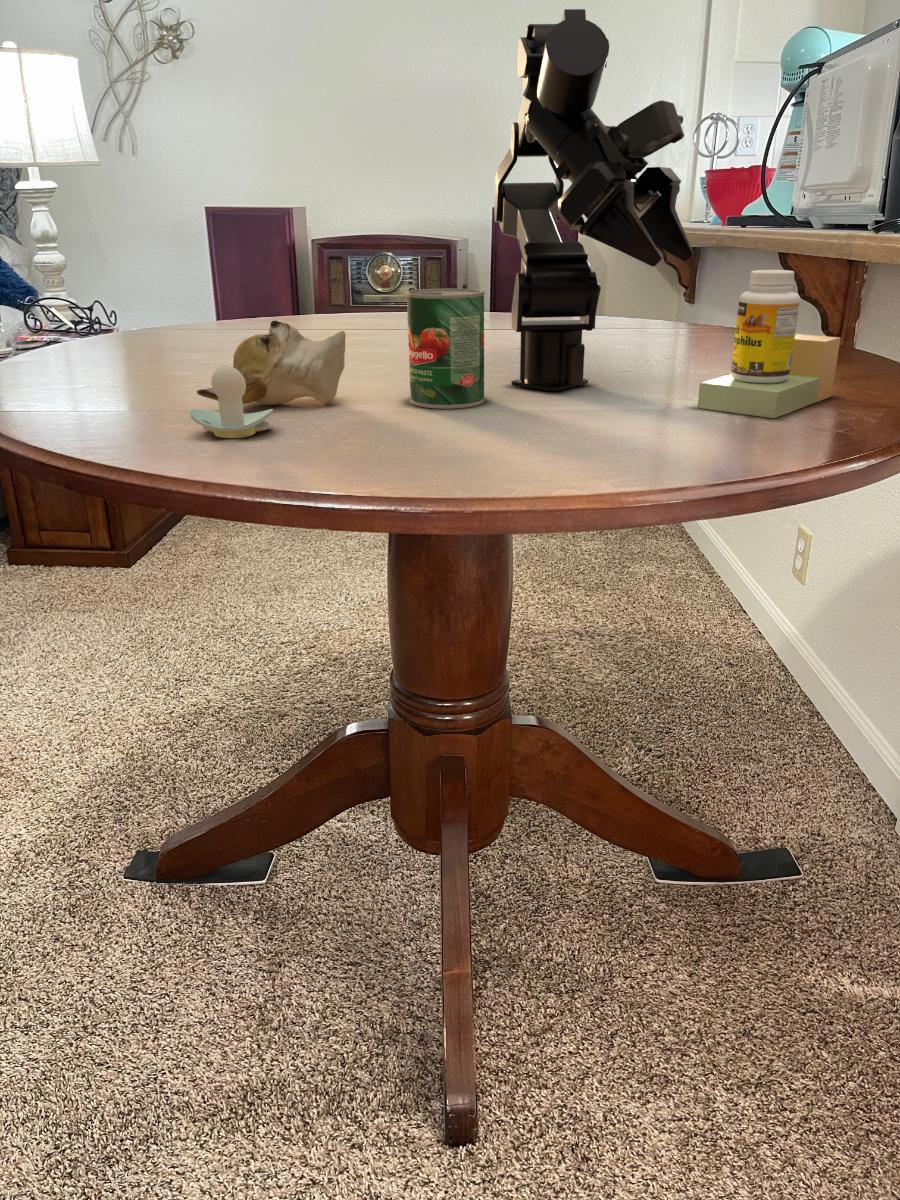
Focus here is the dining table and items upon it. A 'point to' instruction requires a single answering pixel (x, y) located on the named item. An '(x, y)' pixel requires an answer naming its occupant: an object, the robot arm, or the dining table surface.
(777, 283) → the supplement bottle
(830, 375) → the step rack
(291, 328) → the ceramic sculpture
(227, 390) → the pacifier
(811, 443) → the dining table surface
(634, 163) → the robot arm
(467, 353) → the canned tomato
